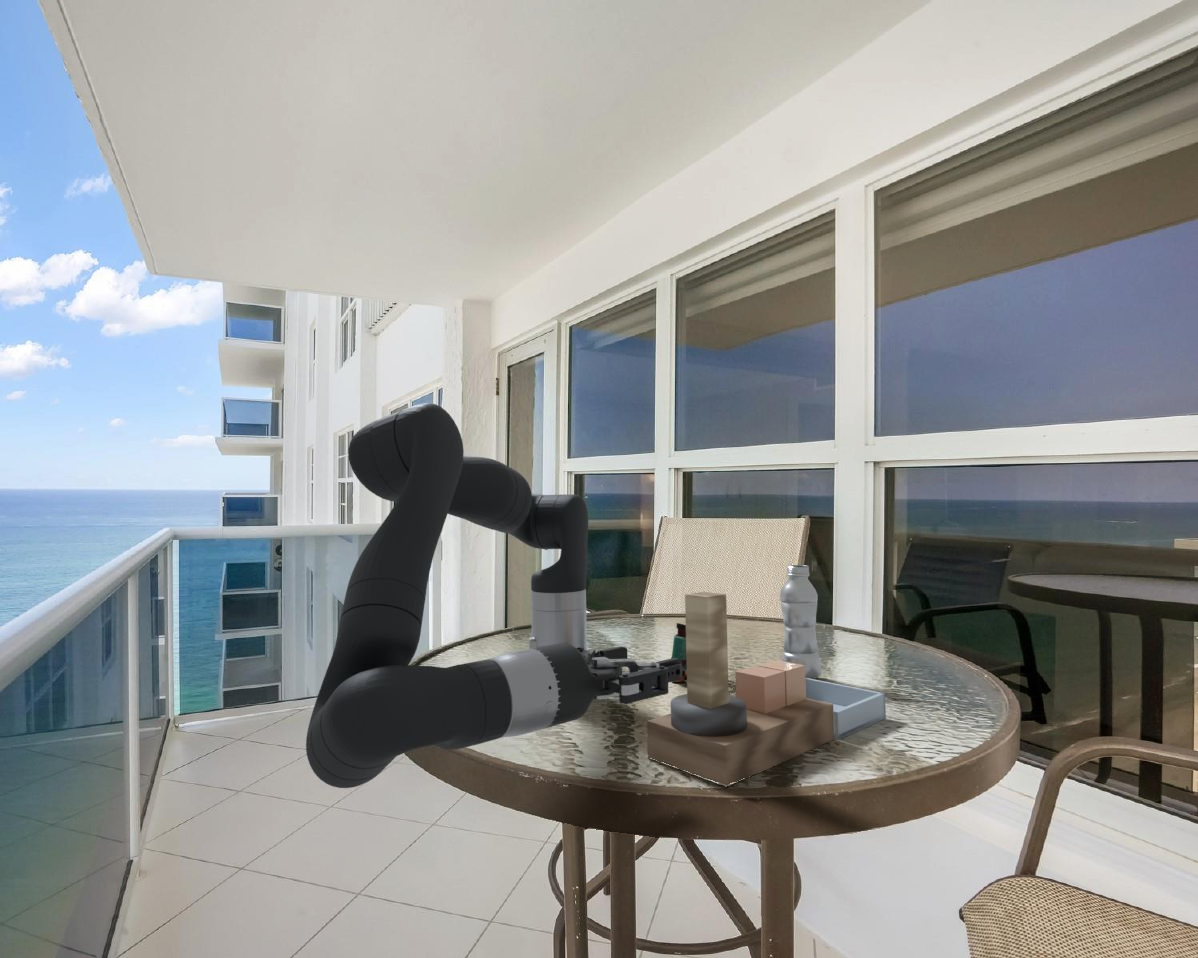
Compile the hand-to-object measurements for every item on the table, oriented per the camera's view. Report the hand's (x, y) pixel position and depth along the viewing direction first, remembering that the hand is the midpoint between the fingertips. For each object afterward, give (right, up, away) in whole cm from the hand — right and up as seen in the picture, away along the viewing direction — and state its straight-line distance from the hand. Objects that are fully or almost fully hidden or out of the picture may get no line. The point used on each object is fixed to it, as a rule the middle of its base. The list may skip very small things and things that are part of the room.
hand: (651, 661), depth 74 cm
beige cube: (+19, -9, +16) cm, 26 cm away
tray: (+26, -14, +22) cm, 37 cm away
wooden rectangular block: (+13, -14, +10) cm, 21 cm away
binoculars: (+12, -16, +43) cm, 48 cm away
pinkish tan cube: (+15, -9, +13) cm, 22 cm away
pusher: (+7, -9, +6) cm, 13 cm away
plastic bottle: (+30, -15, +44) cm, 56 cm away
